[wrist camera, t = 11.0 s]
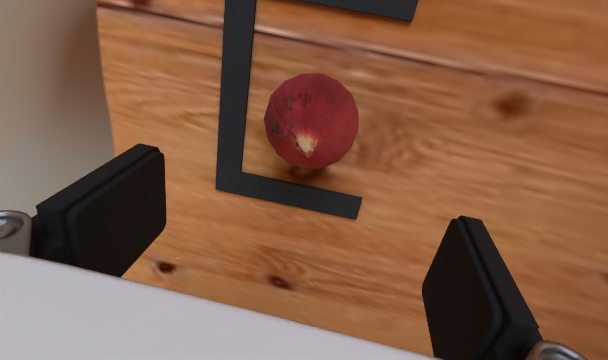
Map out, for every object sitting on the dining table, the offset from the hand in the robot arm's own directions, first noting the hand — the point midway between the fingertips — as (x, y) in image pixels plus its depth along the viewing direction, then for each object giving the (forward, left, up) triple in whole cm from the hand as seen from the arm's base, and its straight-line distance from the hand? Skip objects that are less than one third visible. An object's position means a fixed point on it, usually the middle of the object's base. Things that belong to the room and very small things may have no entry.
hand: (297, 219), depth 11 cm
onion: (0, -1, -15) cm, 15 cm away
